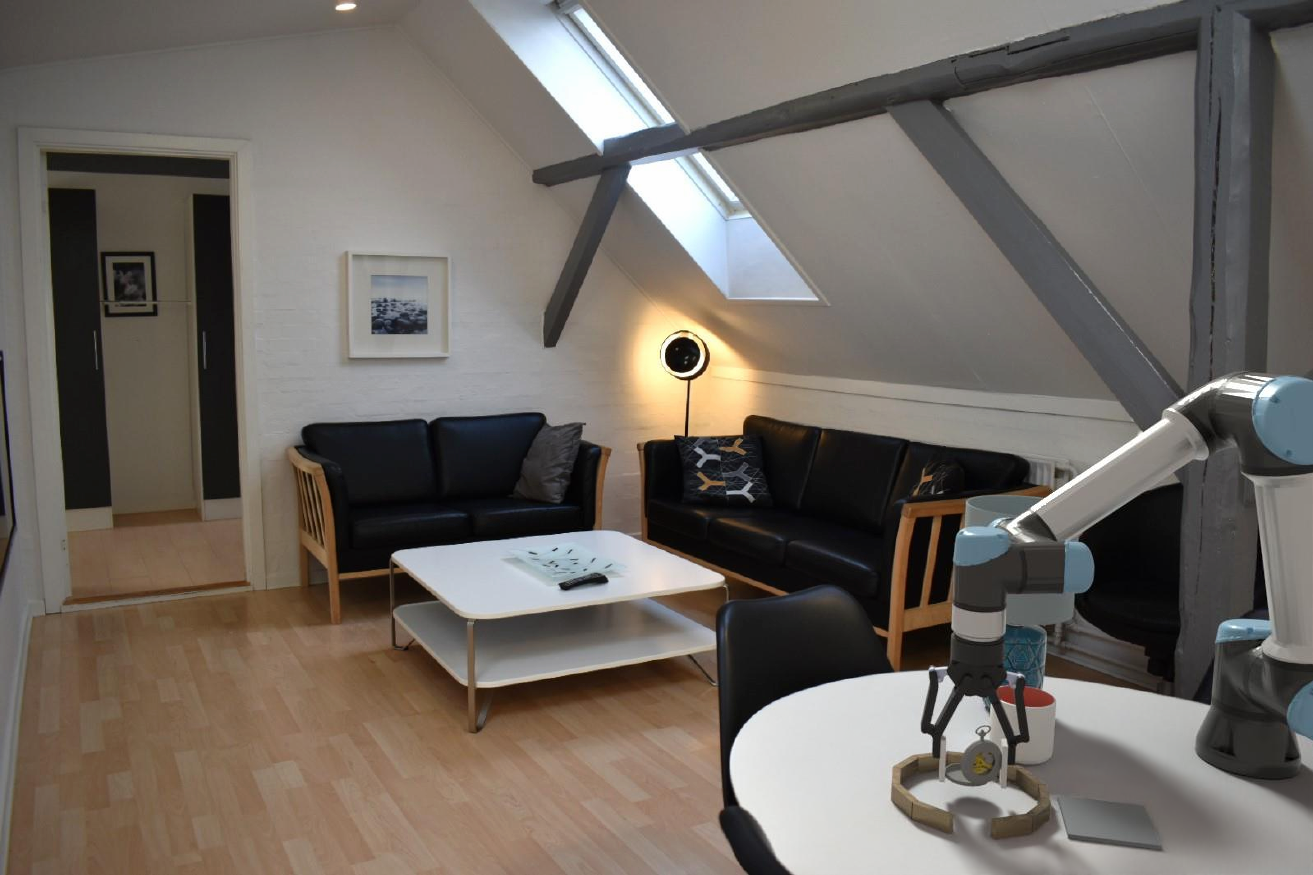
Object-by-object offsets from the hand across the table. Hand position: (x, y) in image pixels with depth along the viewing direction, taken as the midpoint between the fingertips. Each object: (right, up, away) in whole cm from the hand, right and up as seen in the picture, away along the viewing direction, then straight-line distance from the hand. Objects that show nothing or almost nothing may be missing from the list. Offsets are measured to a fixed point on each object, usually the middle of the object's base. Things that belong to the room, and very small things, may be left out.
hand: (972, 781), depth 158 cm
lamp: (+17, +2, +36) cm, 40 cm away
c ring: (-1, -3, 0) cm, 3 cm away
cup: (+13, -1, +17) cm, 21 cm away
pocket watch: (0, 0, 0) cm, 1 cm away
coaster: (+17, -4, -6) cm, 19 cm away
